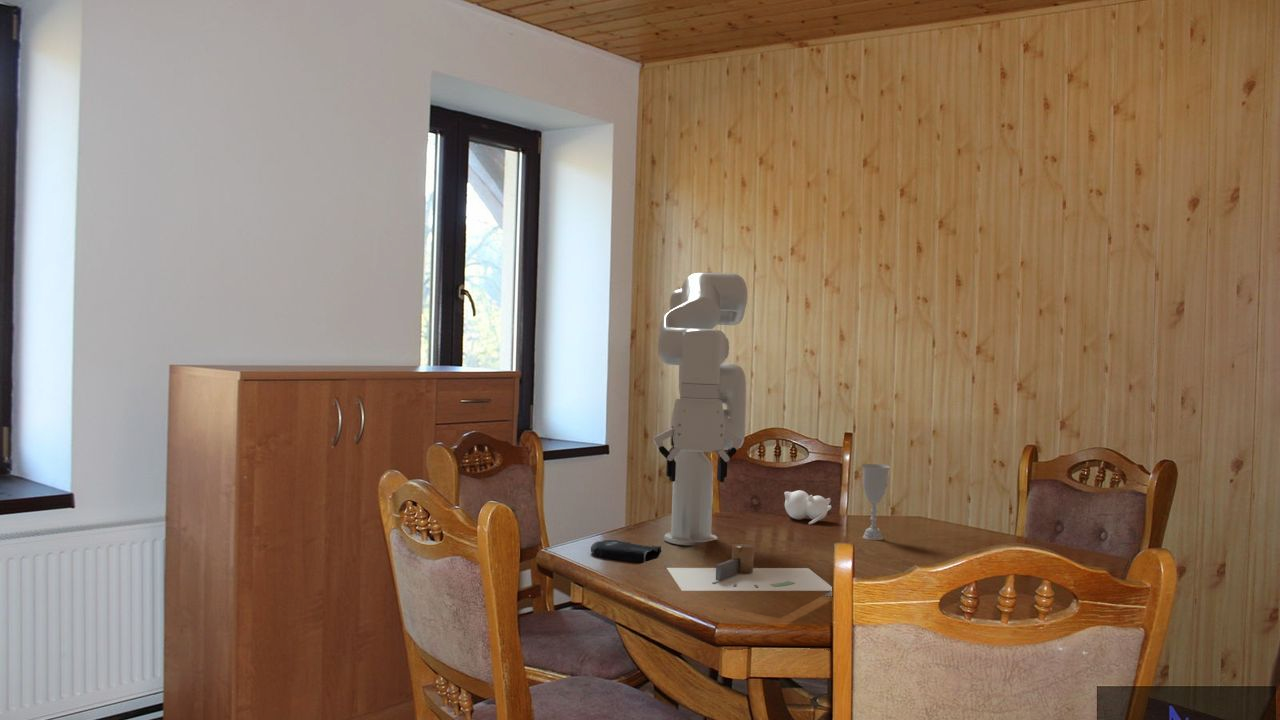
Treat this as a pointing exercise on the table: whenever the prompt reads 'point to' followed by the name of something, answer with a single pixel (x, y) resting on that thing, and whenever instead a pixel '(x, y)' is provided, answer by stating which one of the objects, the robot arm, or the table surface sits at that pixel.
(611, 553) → the electronic device
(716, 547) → the table surface
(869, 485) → the chalice
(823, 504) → the cat figurine
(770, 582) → the dial board
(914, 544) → the table surface
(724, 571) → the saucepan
